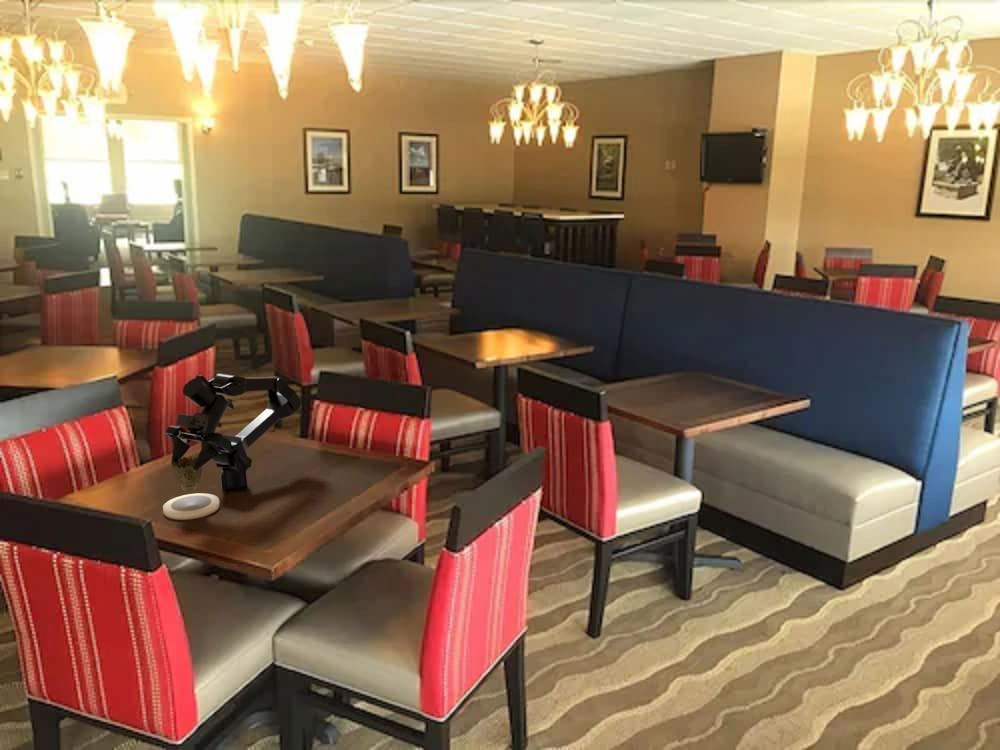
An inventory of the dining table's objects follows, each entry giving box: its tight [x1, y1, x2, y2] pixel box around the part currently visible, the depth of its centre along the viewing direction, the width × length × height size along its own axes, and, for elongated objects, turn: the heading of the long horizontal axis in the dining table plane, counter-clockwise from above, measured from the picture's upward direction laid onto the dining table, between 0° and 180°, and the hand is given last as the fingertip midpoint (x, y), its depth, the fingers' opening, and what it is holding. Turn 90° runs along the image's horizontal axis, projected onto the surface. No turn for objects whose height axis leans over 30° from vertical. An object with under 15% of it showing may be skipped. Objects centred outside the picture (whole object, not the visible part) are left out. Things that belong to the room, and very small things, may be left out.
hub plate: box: [162, 492, 220, 521], centre depth 214 cm, size 14×14×2 cm
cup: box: [171, 456, 203, 492], centre depth 212 cm, size 8×7×8 cm
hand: (183, 467), depth 210 cm, fingers closed on cup, 7 cm apart
